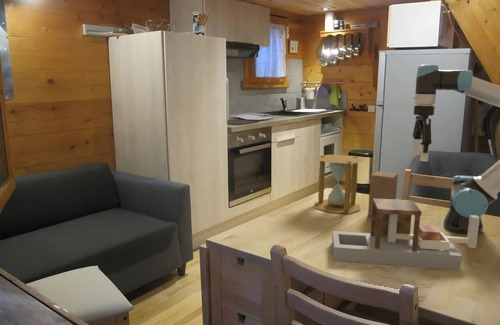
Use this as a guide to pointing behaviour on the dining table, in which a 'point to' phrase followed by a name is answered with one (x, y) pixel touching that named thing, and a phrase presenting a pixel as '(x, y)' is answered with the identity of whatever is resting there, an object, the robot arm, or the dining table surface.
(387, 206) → the tunnel
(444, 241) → the slider
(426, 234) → the block
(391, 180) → the wooden block
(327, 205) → the hourglass
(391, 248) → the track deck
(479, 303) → the dining table surface
